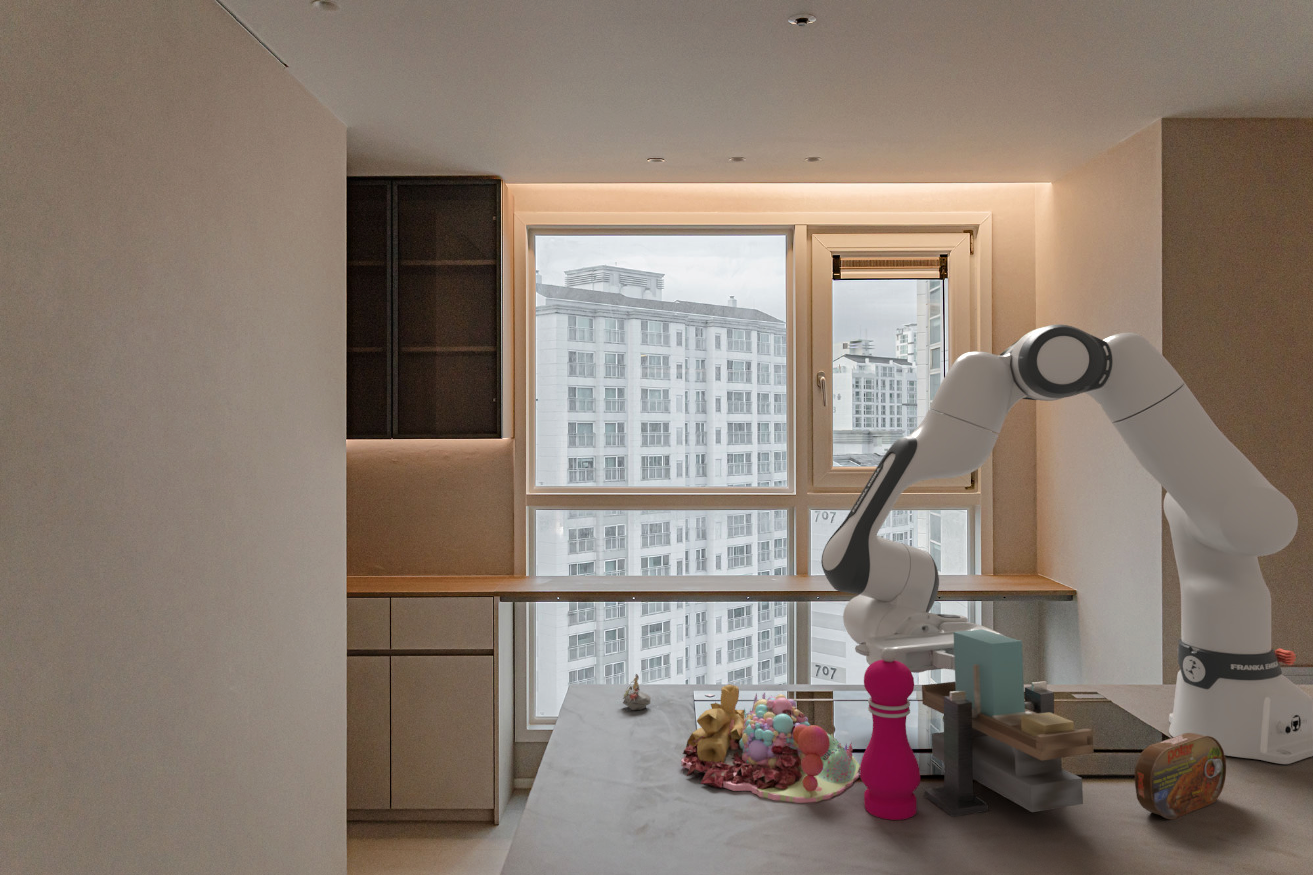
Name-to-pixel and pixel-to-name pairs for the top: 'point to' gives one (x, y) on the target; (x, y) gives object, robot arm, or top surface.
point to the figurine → (636, 697)
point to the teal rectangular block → (990, 670)
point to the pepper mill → (889, 741)
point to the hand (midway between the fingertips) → (969, 665)
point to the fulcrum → (970, 750)
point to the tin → (1180, 775)
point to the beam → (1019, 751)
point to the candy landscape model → (768, 751)
